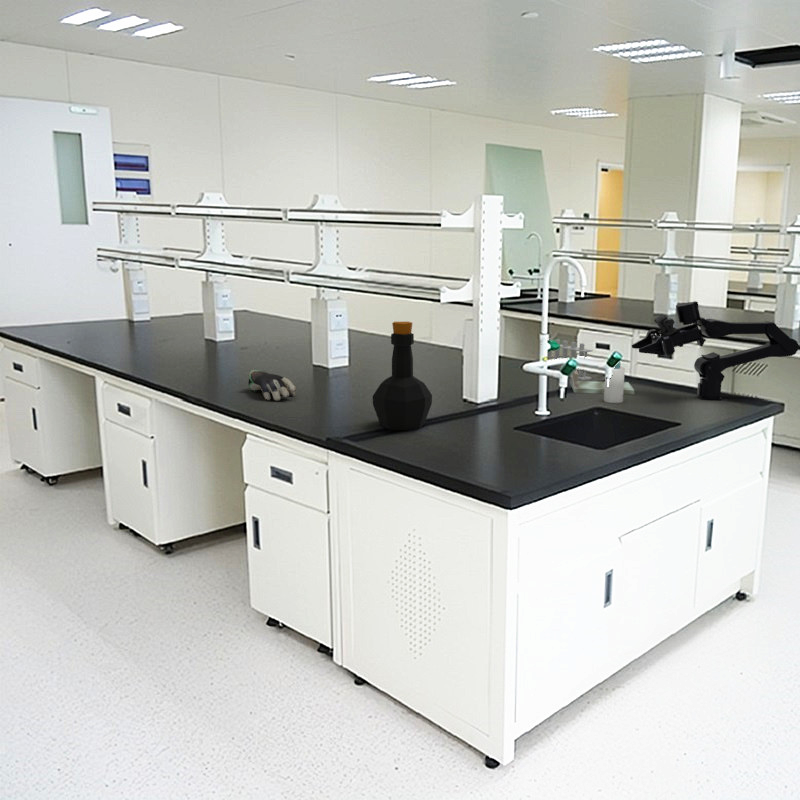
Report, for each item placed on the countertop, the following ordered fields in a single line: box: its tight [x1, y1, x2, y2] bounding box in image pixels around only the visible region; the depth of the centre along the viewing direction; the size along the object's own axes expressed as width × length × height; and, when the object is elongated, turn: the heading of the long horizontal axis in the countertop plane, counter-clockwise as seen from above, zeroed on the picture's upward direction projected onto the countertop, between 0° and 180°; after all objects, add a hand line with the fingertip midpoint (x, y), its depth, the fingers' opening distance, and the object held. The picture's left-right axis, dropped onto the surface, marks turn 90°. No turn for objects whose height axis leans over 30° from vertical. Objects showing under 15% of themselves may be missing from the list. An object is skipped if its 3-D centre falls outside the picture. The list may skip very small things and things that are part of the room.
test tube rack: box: [539, 337, 594, 381], centre depth 314 cm, size 25×4×13 cm, turn 32°
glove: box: [247, 369, 297, 402], centre depth 278 cm, size 12×10×25 cm
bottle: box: [372, 321, 433, 431], centre depth 233 cm, size 16×16×30 cm
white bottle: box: [603, 361, 626, 404], centre depth 267 cm, size 6×6×13 cm
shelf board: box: [570, 369, 635, 395], centre depth 286 cm, size 20×14×6 cm
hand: (635, 348), depth 270 cm, fingers open, 9 cm apart
